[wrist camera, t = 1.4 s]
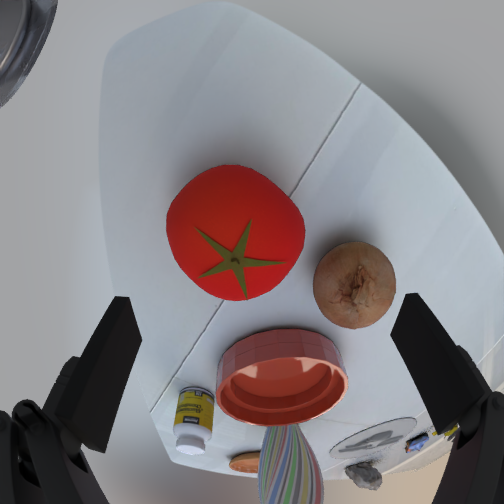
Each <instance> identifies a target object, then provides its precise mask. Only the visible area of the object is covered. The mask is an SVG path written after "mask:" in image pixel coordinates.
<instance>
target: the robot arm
mask: <svg viewBox="0 0 504 504" xmlns="http://www.w3.org/2000/svg"><path fill="white" fill-rule="evenodd" d="M30 13H31V4H30V0H0V78H1V76H2V75H3V74H4V72H5V71H6V70H7V68H8V67H9V65H10V63H11V62H12V60H13V58H14V57H15V55H16V53H17V51H18V49H19V47H20V45H21V42H22V40H23V38H24V35H25V33H26V30H27V27H28V23H29V19H30ZM390 336H391V337H392V339H393V341H394V343H395V345H396V347H397V349H398V351H399V353H400V355H401V357H402V358H403V360H404V362H405V364H406V366H407V368H408V370H409V372H410V374H411V376H412V379H413V381H414V383H415V385H416V387H417V389H418V391H419V393H420V395H421V398H422V400H423V402H424V404H425V406H426V409H427V411H428V413H429V415H430V418H431V420H432V422H433V425H434V427H435V430H436V432H437V435H440V434H442V433H445V432H447V431H449V430H451V429H452V428H453V427H454V426H455V425H456V424H457V423H458V424H459V426H460V427H459V428H458V429H457V430H456V431H455V432H454V433H453V434H451V435H450V436H449V438H448V440H447V441H450V440H451V439H452V438H453V437H454V436H455V438H454V439H453V440H452V442H453V446H452V449H451V453H450V456H449V459H448V462H447V465H446V469H445V472H444V474H443V477H442V480H441V483H440V485H439V487H438V490H437V492H436V495H435V497H434V499H433V502H432V504H504V394H502V393H501V392H497V391H495V392H492V390H491V389H490V387H489V386H488V384H487V382H486V381H485V379H484V377H483V376H482V374H481V372H480V371H479V369H478V368H476V365H475V363H474V361H472V358H471V357H470V355H469V354H468V352H467V351H466V350H464V349H463V348H462V347H461V346H460V345H458V346H456V345H455V343H454V342H453V340H452V339H451V337H450V336H449V335H448V333H447V332H446V330H445V329H444V327H443V326H442V325H441V323H440V322H439V321H438V319H437V318H436V316H435V315H434V314H433V312H432V311H431V310H430V308H429V307H428V306H427V304H426V303H425V302H424V301H423V299H422V298H421V297H420V295H419V294H418V293H410V294H406V295H405V298H404V300H403V303H402V306H401V309H400V311H399V314H398V316H397V319H396V322H395V324H394V327H393V329H392V332H391V334H390ZM141 342H142V337H141V334H140V331H139V328H138V325H137V322H136V319H135V315H134V312H133V309H132V305H131V302H130V298H129V297H120V296H115V297H114V299H113V300H112V302H111V304H110V305H109V307H108V309H107V310H106V312H105V314H104V316H103V317H102V319H101V321H100V322H99V324H98V326H97V328H96V329H95V331H94V333H93V335H92V336H91V338H90V340H89V342H88V344H87V346H86V347H85V349H84V351H83V353H82V355H81V357H75V356H73V357H71V358H70V359H69V360H68V361H67V362H66V363H65V365H64V366H63V368H62V370H61V372H60V375H59V376H58V378H57V380H56V383H54V385H53V387H52V389H51V391H50V394H49V396H48V398H47V400H46V402H45V404H44V406H43V408H42V410H41V409H40V407H39V406H38V405H37V404H36V403H35V402H34V401H32V400H28V399H26V400H22V401H20V402H18V403H17V404H16V406H15V407H14V409H13V411H12V418H11V417H10V416H9V415H8V414H7V413H6V412H5V411H1V410H0V504H109V502H108V500H107V499H106V497H105V495H104V493H103V492H102V490H101V488H100V486H99V484H98V482H97V480H96V478H95V476H94V475H93V472H92V470H91V468H90V466H89V464H88V462H87V460H86V458H85V456H84V453H83V452H82V450H81V445H82V443H83V444H84V445H85V446H86V447H88V448H89V449H91V450H95V451H98V452H101V453H105V451H106V448H107V444H108V441H109V437H110V434H111V430H112V427H113V423H114V420H115V417H116V414H117V411H118V408H119V404H120V401H121V398H122V395H123V392H124V389H125V386H126V383H127V381H128V378H129V374H130V372H131V369H132V366H133V364H134V361H135V358H136V355H137V353H138V350H139V347H140V345H141ZM18 456H19V460H18Z"/></svg>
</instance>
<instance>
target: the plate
mask: <svg viewBox="0 0 504 504" xmlns="http://www.w3.org/2000/svg"><path fill="white" fill-rule="evenodd" d="M416 424H417V422H416V420H415V419H413V418H401V419H396V420H392V421H388V422H385V423H382V424H379V425H376V426H373V427H371V428H368V429H366V430H364V431H361V432H359V433H357V434H354V435H352V436H350V437H348V438H347V439H345V440H343V441H341V442H340V443H338V444H337V445H336V446H334V447H333V448H332V449H331V451H330V456H331V457H332V458H335V459H353V458H359V457H363V456H366V455H370V454H373V453H376V452H378V451H381V450H383V449H385V448H387V447H390V446H391V445H393V444H395V443H397V442H399V441H400V440H402V439H403V438H405V437H406V436H407V435H408V434H409V433H411V432H412V431H413V429H414V428H415V426H416Z"/></svg>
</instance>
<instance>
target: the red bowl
mask: <svg viewBox="0 0 504 504" xmlns="http://www.w3.org/2000/svg"><path fill="white" fill-rule="evenodd" d="M347 389H348V376H347V373H346V370H345V367H344V364H343V361H342V358H341V355H340V352H339V351H338V349H337V348H336V346H335V345H334V343H333V342H332V341H331V340H329V339H327V338H326V337H324V336H322V335H321V334H319V333H315V332H311V331H306V330H302V329H275V330H270V331H266V332H261V333H257V334H253V335H251V336H249V337H247V338H245V339H243V340H241V341H239V342H237V343H235V344H234V345H233V346H232V347H231V348H230V349H229V350H227V351H226V352H225V353H224V354H223V356H222V359H221V361H220V363H219V365H218V373H217V384H216V399H217V404H218V405H219V407H220V408H221V409H222V411H223V412H224V413H226V414H227V415H229V416H230V417H232V418H234V419H235V420H238V421H241V422H244V423H247V424H251V425H258V426H268V427H269V426H287V425H292V424H297V423H302V422H305V421H308V420H311V419H314V418H316V417H319V416H321V415H322V414H324V413H326V412H327V411H329V410H331V409H332V408H333V407H335V406H336V405H337V404H338V403H339V402H340V401H341V400H342V399H343V397H344V395H345V393H346V391H347Z"/></svg>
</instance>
